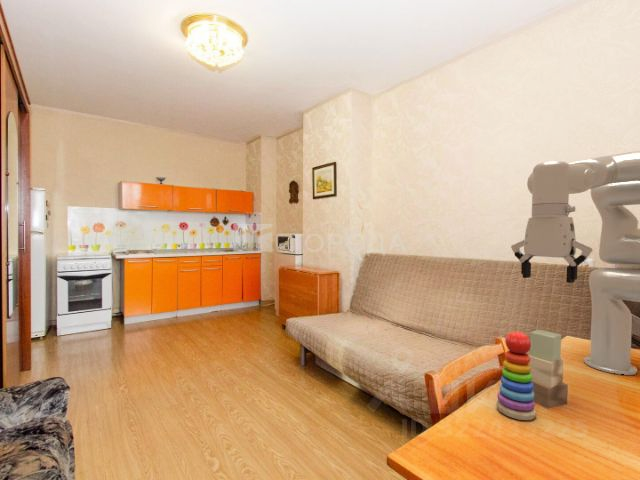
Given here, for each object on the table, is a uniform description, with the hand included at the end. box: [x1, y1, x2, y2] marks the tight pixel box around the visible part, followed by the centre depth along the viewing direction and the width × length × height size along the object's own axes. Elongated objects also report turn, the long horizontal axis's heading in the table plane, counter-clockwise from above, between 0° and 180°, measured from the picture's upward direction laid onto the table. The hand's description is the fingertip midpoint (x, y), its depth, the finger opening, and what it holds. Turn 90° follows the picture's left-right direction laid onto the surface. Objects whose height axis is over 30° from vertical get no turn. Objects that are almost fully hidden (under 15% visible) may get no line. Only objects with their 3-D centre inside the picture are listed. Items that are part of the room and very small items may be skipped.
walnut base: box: [531, 381, 569, 410], centre depth 82 cm, size 7×7×5 cm
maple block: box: [528, 353, 564, 388], centre depth 82 cm, size 6×6×6 cm
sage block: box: [529, 329, 562, 362], centre depth 82 cm, size 5×5×6 cm
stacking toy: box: [496, 331, 537, 421], centre depth 75 cm, size 8×8×19 cm
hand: (547, 279), depth 82 cm, fingers open, 9 cm apart
